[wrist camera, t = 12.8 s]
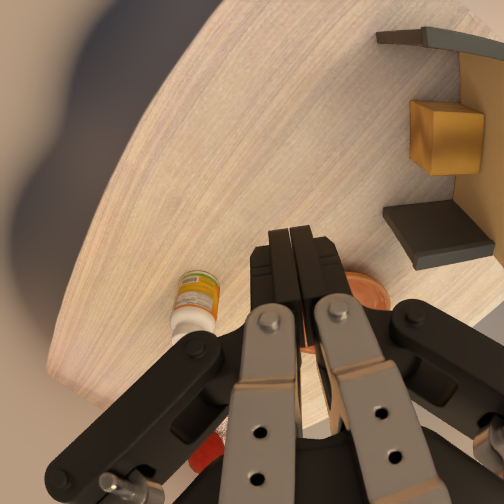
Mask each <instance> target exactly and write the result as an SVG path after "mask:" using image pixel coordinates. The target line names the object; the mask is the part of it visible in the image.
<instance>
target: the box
mask: <svg viewBox="0 0 504 504" xmlns="http://www.w3.org/2000/svg"><path fill="white" fill-rule="evenodd" d="M483 129H484V114H483V113H480V112H478V111H476V110H473V109H471V108H469V107H466V106H464V105H461V104H459V103H450V102H431V101H410V159H412V160H413V161H414V162H415V163H416V164H418V165H419V166H420V167H421V168H422V169H424V170H425V171H426V172H427V173H428V174H429V175H430V176H438V175H455V174H476V173H479V169H480V161H481V152H482V142H483Z"/></svg>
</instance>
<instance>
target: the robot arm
mask: <svg viewBox="0 0 504 504" xmlns="http://www.w3.org/2000/svg"><path fill="white" fill-rule="evenodd" d="M289 229H290V237H291V242H290V237H289V232H288V228H285V229H279V230H272V231H268V236H269V245H266V246H259V247H255V249H254V251H253V253H252V254H251V256H250V277H251V278H250V295H251V310H250V313H249V315H248V316H247V318H246V320H245V323H244V324H243V325H242V326H241V327H240V328H238V329H236V330H235V331H232V332H230V333H228V334H225V335H223V336H220V337H217V336H216V335H215V334H213V333H211V332H209V331H204V330H199V331H193V332H190V333H188V334H186V335H184V336H183V337H182V338H181V339H179V340H178V341H177V342H176V343H175V344H174V345H173V346H172V347H171V348H170V349H169V350H168V351H167V352H166V353H165V354H164V355H163V356H162V357H161V358H160V359H159V360H158V361H157V362H156V363H155V364H154V365H153V366H152V367H151V368H150V369H148V370H147V371H146V372H145V373H144V374H143V375H142V376H141V377H140V378H139V379H138V380H137V381H136V382H135V383H134V384H133V385H132V386H131V387H130V388H129V389H128V390H127V391H126V392H125V393H124V394H123V395H121V396H120V397H119V398H118V399H117V400H116V401H115V402H114V403H113V404H112V405H111V406H110V407H109V408H108V409H107V410H106V411H105V412H104V413H103V414H102V415H101V416H100V417H98V418H97V419H96V420H95V421H94V422H93V423H92V424H91V425H90V426H89V427H88V428H87V429H86V430H85V431H84V432H83V433H82V434H81V435H80V436H78V437H77V438H76V439H75V441H73V442H72V443H71V444H70V445H69V446H68V447H67V448H66V449H65V450H64V451H63V452H61V454H59V455H58V456H57V457H56V458H55V459H54V460H53V461H52V462H51V463H50V464H49V466H48V467H47V469H46V472H45V479H44V480H45V486H46V489H47V491H48V493H49V494H50V496H51V497H52V498H53V499H55V500H56V501H58V502H61V503H64V504H164V501H165V494H164V490H163V488H162V485H163V484H164V483H165V482H166V481H167V480H168V479H169V478H170V477H171V476H172V475H173V474H174V473H175V472H176V471H177V470H178V469H179V468H180V467H181V466H182V465H183V464H184V463H185V461H186V460H187V459H188V458H189V457H190V456H191V455H192V454H193V453H194V452H195V451H196V450H197V449H198V448H199V447H200V446H201V445H202V444H203V443H204V441H205V440H206V439H207V438H208V437H209V436H210V435H211V434H212V433H213V432H214V430H215V429H216V428H217V427H218V426H219V425H220V424H221V423H222V422H223V420H224V419H225V418H226V417H227V416H228V423H227V432H226V441H225V450H224V454H223V455H221V456H219V457H218V458H216V459H215V460H213V461H212V462H211V463H210V464H209V465H207V466H206V467H205V468H204V469H203V470H202V472H201V473H200V474H199V475H198V476H197V477H196V478H195V479H194V481H193V482H192V483H191V484H190V485H189V486H188V487H187V488H186V490H185V491H184V492H183V493H182V494H181V495H180V496H179V497H178V498H177V499H176V500H175V501H174V502H173V503H172V504H504V346H503V345H501V344H499V343H497V342H496V341H494V340H492V339H491V338H489V337H487V336H485V335H484V334H482V333H480V332H478V331H476V330H475V329H473V328H471V327H470V326H468V325H466V324H464V323H463V322H461V321H459V320H457V319H455V318H454V317H452V316H450V315H448V314H446V313H445V312H443V311H441V310H439V309H437V308H436V307H434V306H432V305H430V304H428V303H426V302H424V301H422V300H418V299H407V300H403V301H401V302H399V303H398V304H397V305H396V306H395V307H394V308H393V311H388V310H376V309H371V308H368V307H365V306H363V305H362V304H361V303H360V302H359V301H358V300H357V299H356V298H354V296H353V294H352V292H351V289H350V286H349V283H348V280H347V277H346V274H345V272H344V269H343V266H342V264H341V260H340V258H339V256H338V252H337V250H336V247H335V244H334V243H333V242H332V241H330V240H329V239H328V238H327V237H326V236H324V237H318V238H313V235H312V232H311V229H310V226H309V225H305V226H298V227H291V228H289ZM291 245H292V247H291ZM303 321H304V324H303ZM304 327H305V334H306V340H307V346H308V347H311V346H314V347H315V353H316V366H317V370H318V374H319V378H320V382H321V386H322V390H323V394H324V398H325V402H326V406H327V411H328V415H329V422H330V430H331V435H332V436H330V437H328V438H325V439H320V440H319V439H307V438H303V434H302V404H301V370H300V367H301V364H302V359H301V350H300V348H305V347H306V346H305V335H304ZM411 400H412V401H414V402H416V403H417V404H418V405H420V406H422V407H423V408H424V409H426V410H427V411H429V412H431V413H432V414H433V415H435V416H437V417H438V418H440V419H441V420H443V421H444V422H446V423H447V424H449V425H451V426H452V427H454V428H455V429H457V430H458V431H460V432H461V433H463V434H464V435H466V436H468V437H469V438H471V439H472V440H474V442H473V454H474V457H475V458H476V459H477V460H478V461H479V462H480V463H482V464H483V465H481V464H480V463H479V462H477V461H476V460H474V459H473V458H471V457H470V456H468V455H467V454H466V453H464V452H463V451H461V450H460V449H458V448H457V447H456V446H454V445H453V444H451V443H450V442H449V441H447V440H446V439H444V438H443V437H442V436H440V435H439V434H437V433H436V432H434V431H432V430H430V429H428V428H426V427H423V426H421V425H420V423H419V420H418V417H417V414H416V412H415V409H414V407H413V404H412V401H411Z"/></svg>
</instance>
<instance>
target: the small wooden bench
mask: <svg viewBox="0 0 504 504" xmlns="http://www.w3.org/2000/svg"><path fill="white" fill-rule="evenodd" d="M376 36H377V43H380V44H400V45H413V46H423V47H428V48H436V49H444V50H451V51H457V52H459V66H460V104H461V105H464V106H466V107H469V108H471V109H473V110H476V111H478V112H480V113H483V114H484V129H483V142H482V152H481V161H480V169H479V173H476V174H456V179H455V187H454V195H453V200H447V201H438V202H428V203H419V204H410V205H402V206H393V207H385V208H383V217H384V219H385V220H386V222H387V223H388V225H389V226H390V228H391V229H392V231H393V232H394V234H395V236H396V237H397V239H398V240H399V242H400V244H401V245H402V247H403V248H404V250H405V252H406V253H407V255H408V257H409V258H410V260H411V262H412V263H413V267H414V269H415V270H416V271H417V270H422V269H428V268H433V267H438V266H443V265H449V264H454V263H459V262H464V261H468V260H473V259H478V258H483V257H487V256H492V255H494V257H495V258H496V259H497V260H498V262H499V263H500V264H501V265H502V267H503V268H504V43H501V42H498V41H494V40H491V39H487V38H483V37H479V36H475V35H470V34H466V33H461V32H456V31H451V30H445V29H439V28H433V27H421V29H415V30H396V31H384V32H376Z"/></svg>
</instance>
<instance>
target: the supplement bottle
mask: <svg viewBox="0 0 504 504" xmlns="http://www.w3.org/2000/svg"><path fill="white" fill-rule="evenodd" d="M219 293H220V287H219V283H218V281H217V280H216V279H215V278H214V277H213V276H212V275H210V274H208V273H206V272H202V271H192V272H189V273H186V274H185V275H183V276H182V278H181V279H180V281H179V285H178V288H177V292H176V296H175V300H174V304H173V309H172V312H171V317H170V327H171V329H172V331H173V334H172V340H171V343H172V346H173V345H174V344H175V343H176V342H177V341H178V340H179V339H181V338H182V337H183V336H184V335H186V334H188V333H190V332H193V331H199V330H204V331H209V332H211V333H214V332H215V328H216V321H217V311H218V302H219Z"/></svg>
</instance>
